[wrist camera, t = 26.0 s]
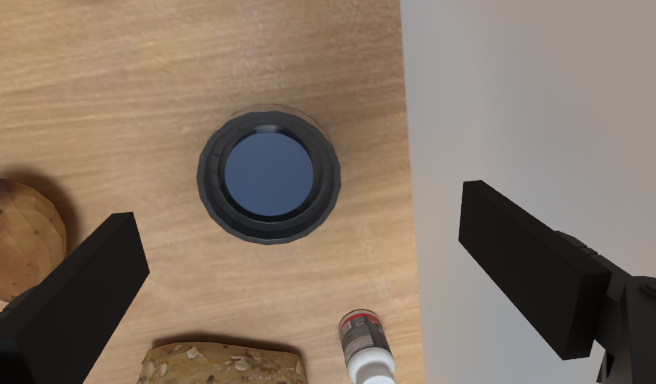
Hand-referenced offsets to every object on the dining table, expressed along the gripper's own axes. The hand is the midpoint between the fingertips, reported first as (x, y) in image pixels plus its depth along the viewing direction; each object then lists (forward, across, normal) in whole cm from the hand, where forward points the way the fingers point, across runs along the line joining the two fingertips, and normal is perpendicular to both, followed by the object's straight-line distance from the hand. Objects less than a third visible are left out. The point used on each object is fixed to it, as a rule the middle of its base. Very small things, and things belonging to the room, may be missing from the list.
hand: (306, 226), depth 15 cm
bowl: (+24, -3, -5) cm, 25 cm away
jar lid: (+22, -3, -5) cm, 23 cm away
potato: (+24, -27, -9) cm, 37 cm away
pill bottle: (+24, +6, -27) cm, 37 cm away
